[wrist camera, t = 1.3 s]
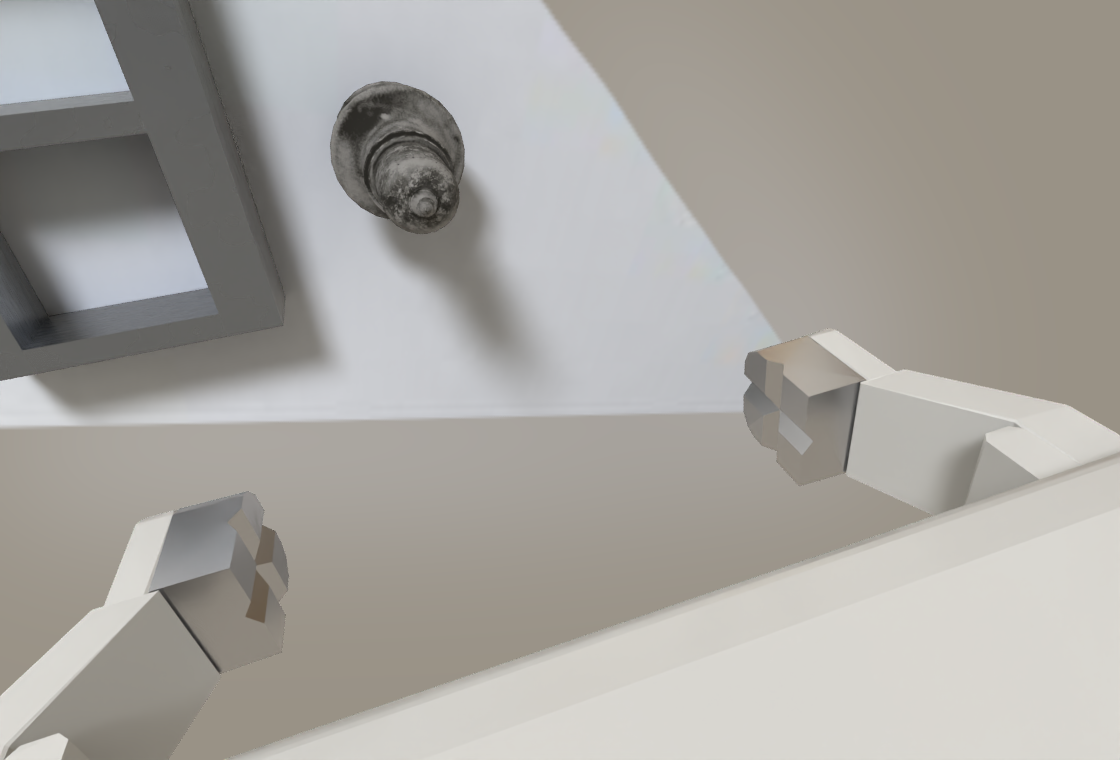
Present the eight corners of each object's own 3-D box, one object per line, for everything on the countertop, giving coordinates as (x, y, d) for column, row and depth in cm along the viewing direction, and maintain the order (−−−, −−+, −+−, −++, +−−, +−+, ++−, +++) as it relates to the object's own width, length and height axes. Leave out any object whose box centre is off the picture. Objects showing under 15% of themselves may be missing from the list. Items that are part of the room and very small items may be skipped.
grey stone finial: (442, 206, 34) (496, 297, 24) (324, 190, 32) (332, 283, 22) (459, 88, 31) (525, 136, 22) (331, 61, 29) (342, 102, 19)
